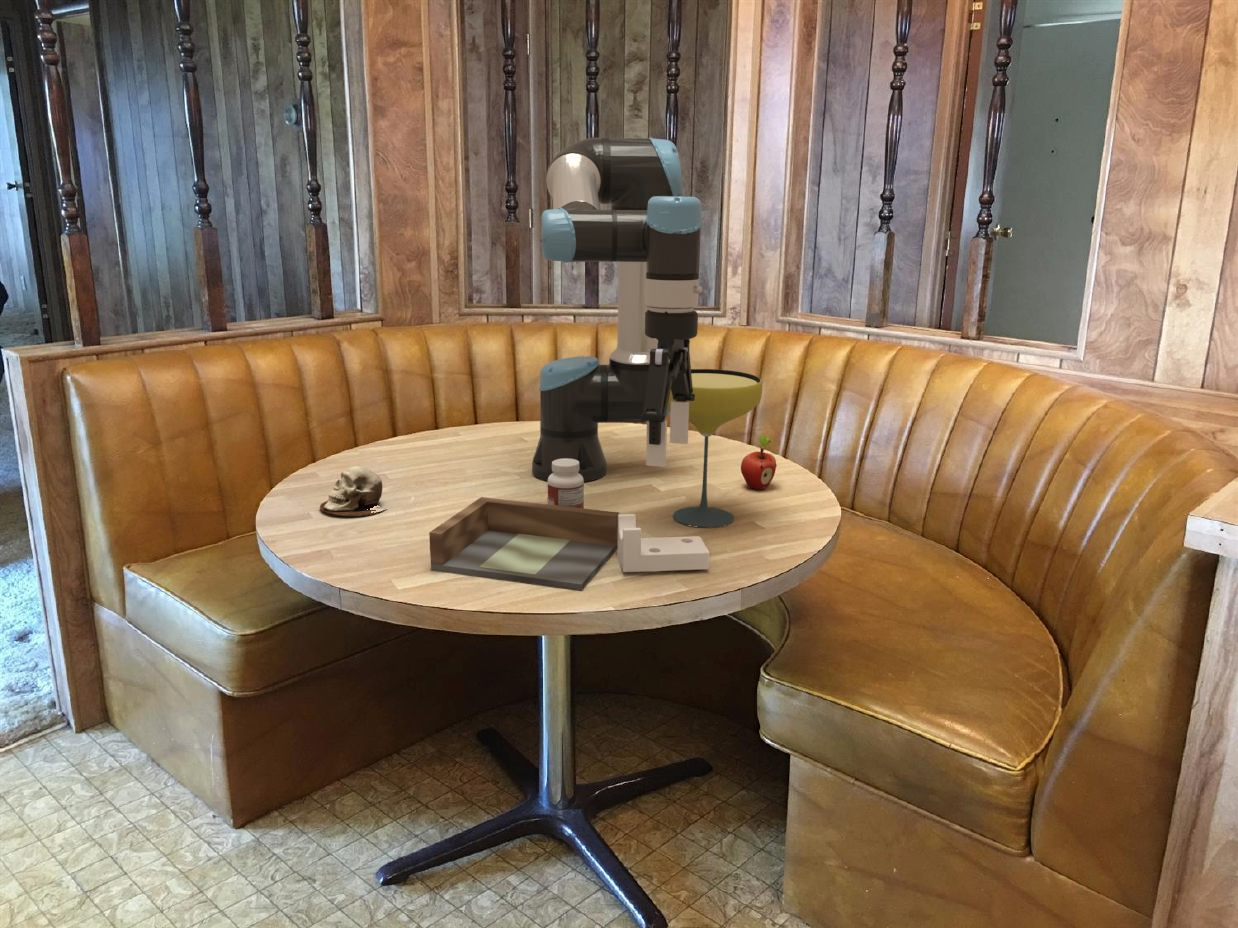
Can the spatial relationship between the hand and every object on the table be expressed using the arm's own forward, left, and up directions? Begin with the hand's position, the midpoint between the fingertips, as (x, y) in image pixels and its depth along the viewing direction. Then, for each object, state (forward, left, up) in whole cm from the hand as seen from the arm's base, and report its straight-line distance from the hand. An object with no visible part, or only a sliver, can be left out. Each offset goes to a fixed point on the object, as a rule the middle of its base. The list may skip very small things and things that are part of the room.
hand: (667, 454), depth 138 cm
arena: (+4, -21, -18) cm, 28 cm away
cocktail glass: (-24, +1, -18) cm, 30 cm away
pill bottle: (-13, -21, -18) cm, 31 cm away
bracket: (0, 0, -18) cm, 18 cm away
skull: (-9, -60, -18) cm, 63 cm away
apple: (-45, +7, -18) cm, 49 cm away
